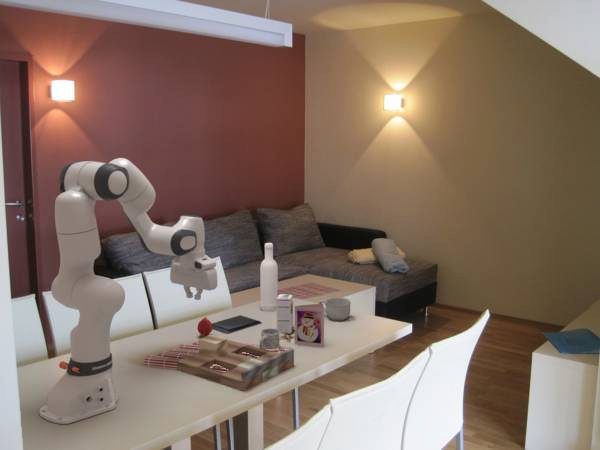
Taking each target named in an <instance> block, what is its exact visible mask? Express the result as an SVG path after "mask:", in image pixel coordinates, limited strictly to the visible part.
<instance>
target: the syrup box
mask: <svg viewBox="0 0 600 450" xmlns="http://www.w3.org/2000/svg"><path fill="white" fill-rule="evenodd" d="M293 297H294V296H293V294H290V293H289V294H288V293H287V294H286V293H282V294H279V293H278V297H277V298H276V301H277V310H276V329H277V330H279V334H291V333H292V331H293V330H294V298H293Z"/></svg>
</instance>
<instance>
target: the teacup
mask: <svg viewBox="0 0 600 450" xmlns="http://www.w3.org/2000/svg"><path fill="white" fill-rule="evenodd" d="M322 303H323V304H324V305H325V307H323V309H324V314H326V316H327V317H328V318H329V319H330V320H332V321H337V322H339V321H340V322H341V321H344V320H346V319H347V318H349V316H350V314H351V303H352V301H351V300H350V299H349V298H346V297H340V296H337V297H335V296H334V297H329V298H327V299H321V300H319V301H318V304H322Z"/></svg>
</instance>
